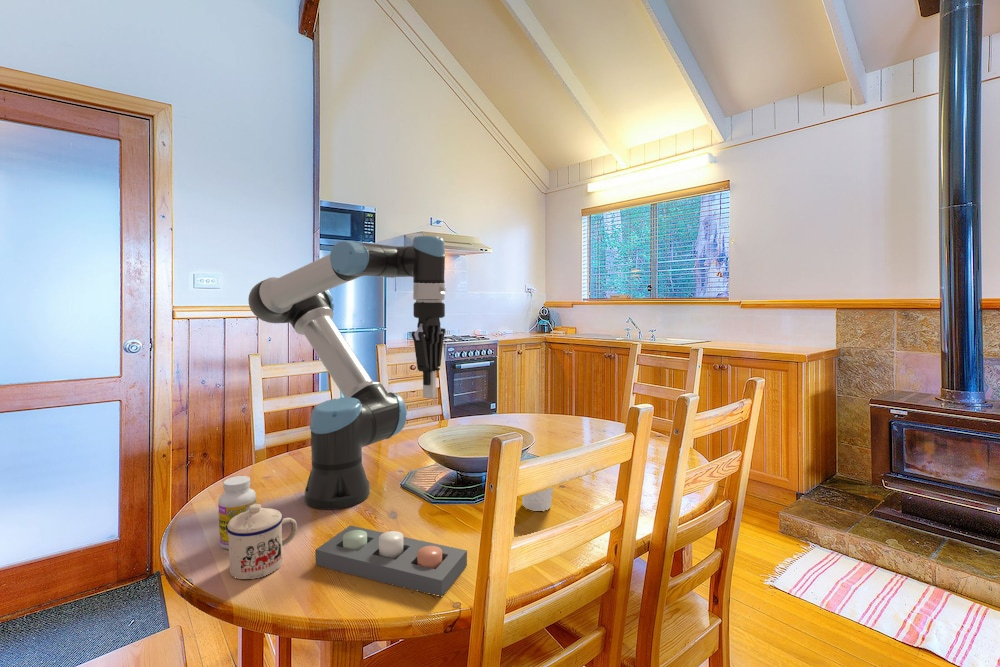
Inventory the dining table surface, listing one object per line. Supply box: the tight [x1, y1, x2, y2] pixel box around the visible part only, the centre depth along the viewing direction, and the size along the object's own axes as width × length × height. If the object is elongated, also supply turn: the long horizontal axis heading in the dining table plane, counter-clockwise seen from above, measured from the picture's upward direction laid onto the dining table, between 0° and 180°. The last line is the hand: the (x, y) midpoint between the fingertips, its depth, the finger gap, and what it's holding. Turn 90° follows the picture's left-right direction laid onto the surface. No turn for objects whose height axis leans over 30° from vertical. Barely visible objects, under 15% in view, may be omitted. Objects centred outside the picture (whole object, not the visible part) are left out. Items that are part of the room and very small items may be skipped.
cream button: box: [379, 530, 404, 560], centre depth 89 cm, size 4×4×4 cm
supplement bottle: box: [217, 475, 257, 550], centre depth 97 cm, size 7×7×13 cm
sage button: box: [343, 530, 367, 551], centre depth 92 cm, size 4×4×4 cm
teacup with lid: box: [227, 503, 298, 580], centre depth 89 cm, size 12×9×12 cm
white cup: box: [521, 487, 554, 512], centre depth 115 cm, size 8×8×10 cm
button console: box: [314, 525, 468, 597], centre depth 89 cm, size 26×10×3 cm, turn 70°
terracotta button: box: [417, 546, 442, 569], centre depth 87 cm, size 4×4×4 cm
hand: (429, 397), depth 119 cm, fingers closed
